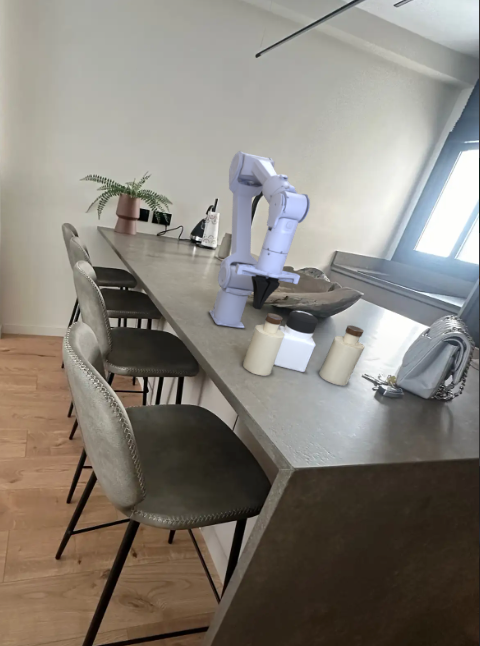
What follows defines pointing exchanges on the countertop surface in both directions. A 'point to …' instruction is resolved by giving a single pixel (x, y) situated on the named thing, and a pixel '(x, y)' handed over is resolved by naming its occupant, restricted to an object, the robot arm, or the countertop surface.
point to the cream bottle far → (342, 357)
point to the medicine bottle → (297, 341)
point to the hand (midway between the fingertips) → (256, 307)
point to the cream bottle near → (264, 346)
